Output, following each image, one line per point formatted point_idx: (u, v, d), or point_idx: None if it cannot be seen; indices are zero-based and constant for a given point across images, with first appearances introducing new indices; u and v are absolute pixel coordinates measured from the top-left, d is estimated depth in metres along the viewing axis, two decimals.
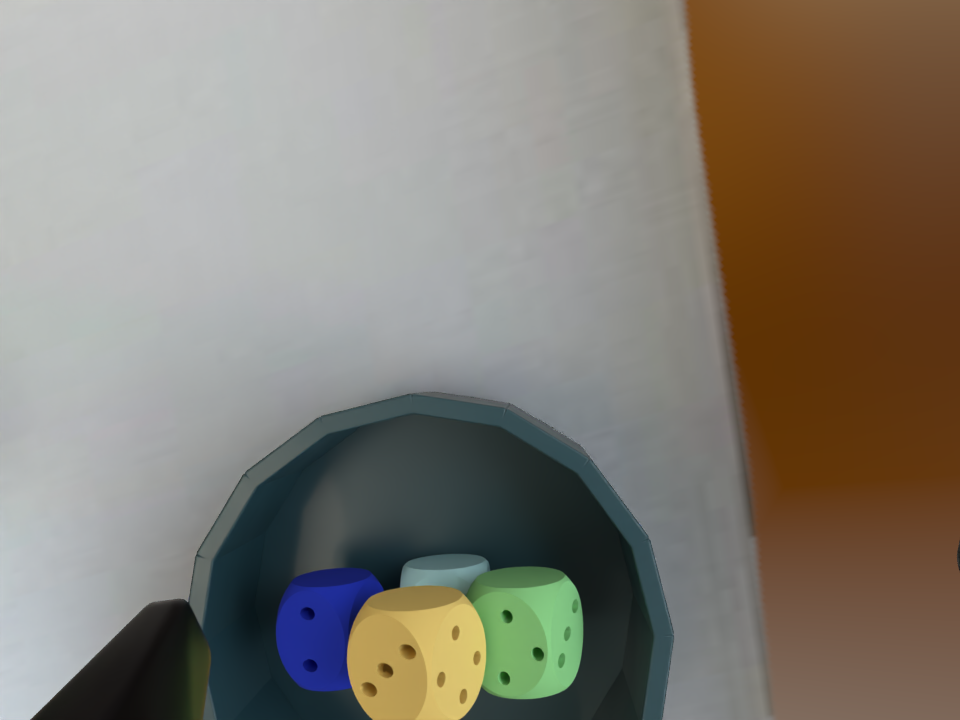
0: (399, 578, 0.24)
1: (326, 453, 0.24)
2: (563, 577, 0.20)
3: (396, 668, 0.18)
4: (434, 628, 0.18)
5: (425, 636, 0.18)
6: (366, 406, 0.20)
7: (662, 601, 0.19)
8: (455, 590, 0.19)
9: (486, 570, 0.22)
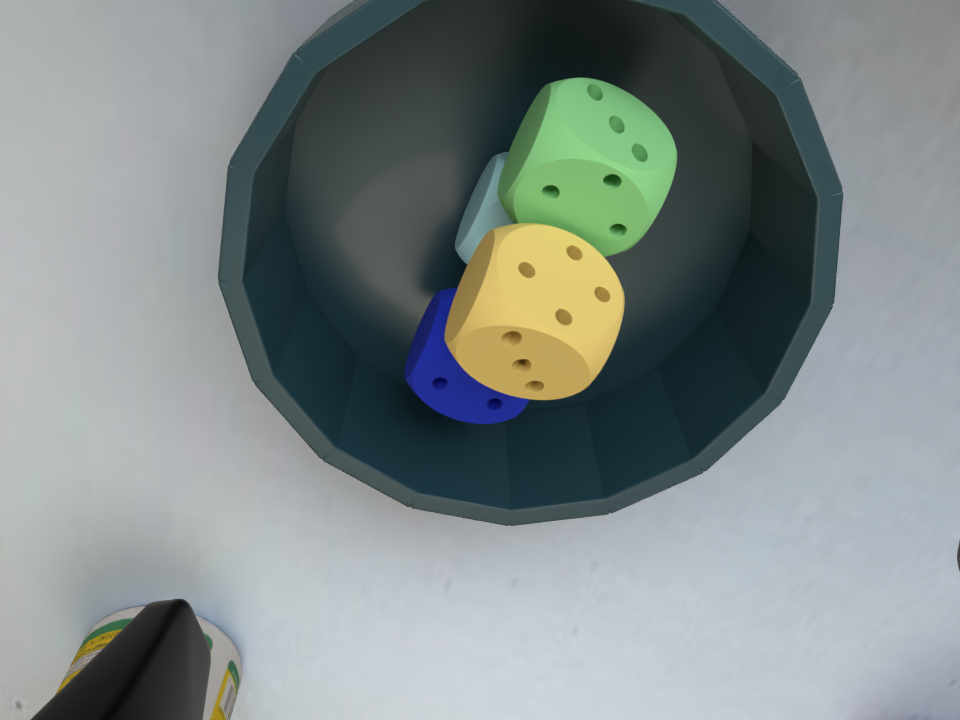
0: None
1: (299, 262, 0.20)
2: (550, 90, 0.14)
3: (524, 355, 0.14)
4: (503, 296, 0.14)
5: (505, 312, 0.14)
6: (224, 223, 0.15)
7: None
8: (489, 233, 0.15)
9: None
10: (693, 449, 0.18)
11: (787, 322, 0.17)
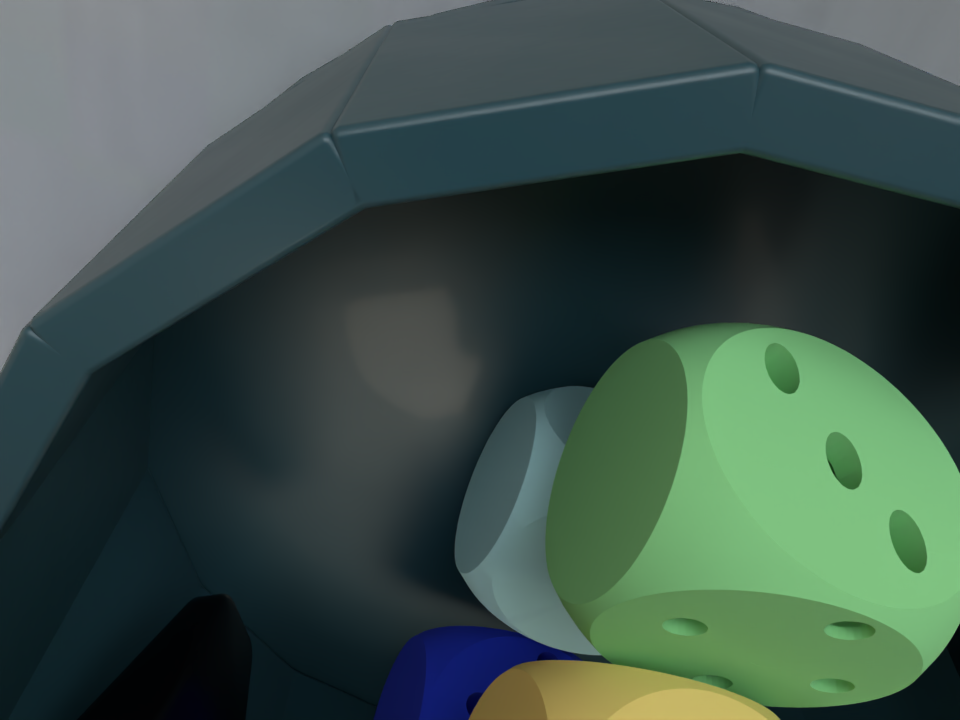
0: None
1: (183, 542, 0.11)
2: (685, 382, 0.06)
3: None
4: None
5: None
6: None
7: None
8: (532, 691, 0.06)
9: (557, 437, 0.09)
10: None
11: None
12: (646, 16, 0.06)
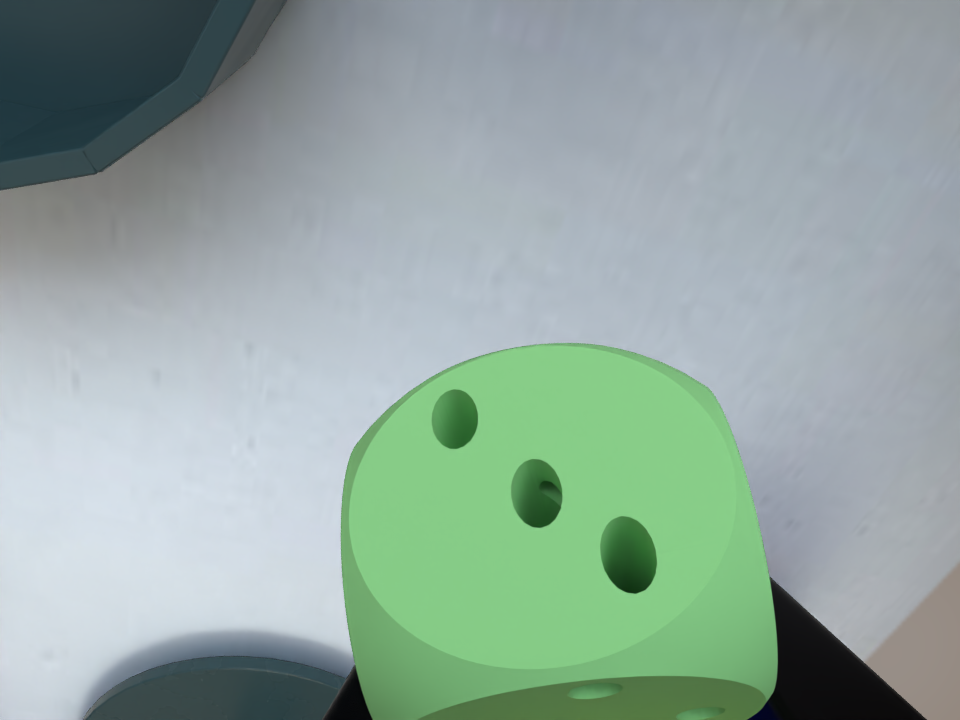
0: None
1: None
2: (343, 499, 0.05)
3: None
4: None
5: None
6: None
7: None
8: None
9: None
10: None
11: None
12: None
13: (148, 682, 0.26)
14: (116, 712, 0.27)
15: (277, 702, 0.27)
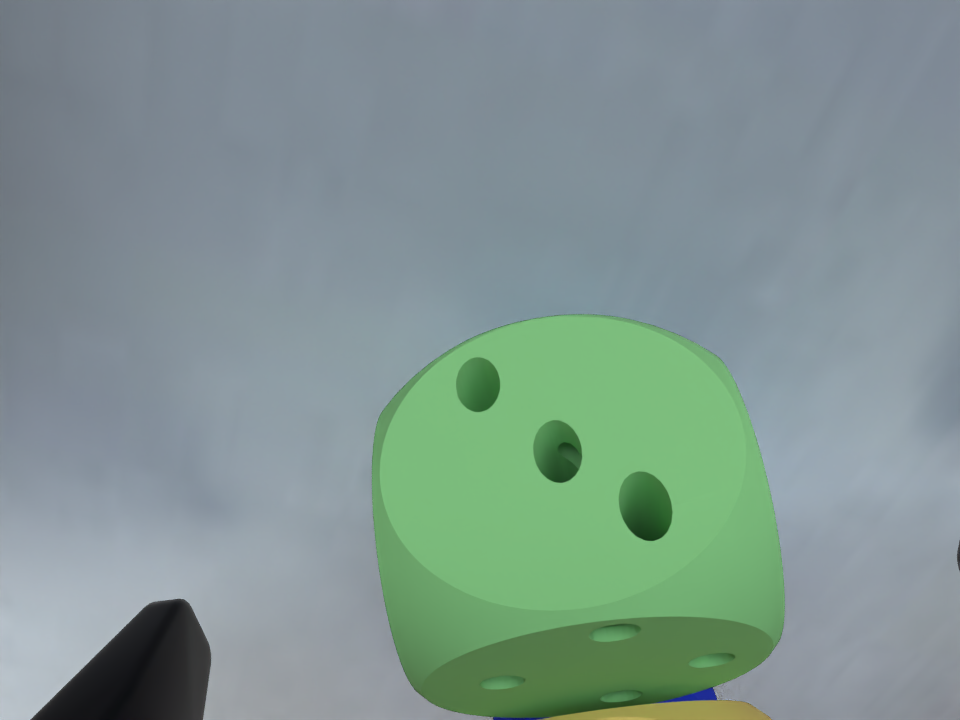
0: None
1: None
2: (373, 460, 0.06)
3: None
4: None
5: None
6: None
7: None
8: None
9: None
10: None
11: None
12: None
13: None
14: None
15: None
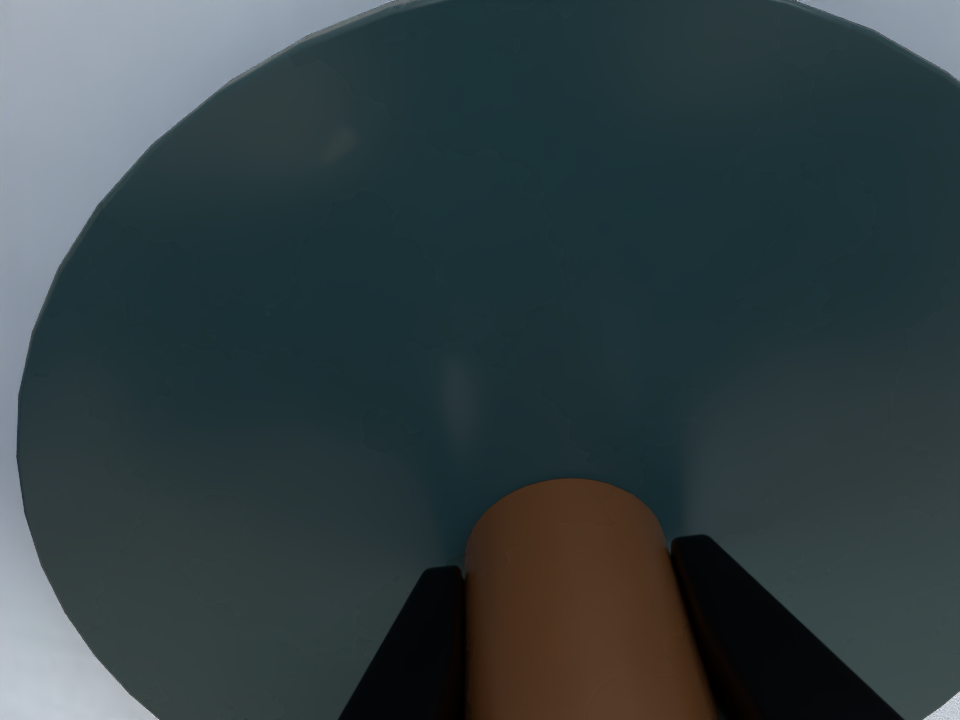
0: None
1: None
2: None
3: None
4: None
5: None
6: None
7: None
8: None
9: None
10: None
11: None
12: None
13: (308, 58, 0.07)
14: (177, 214, 0.07)
15: (759, 185, 0.07)
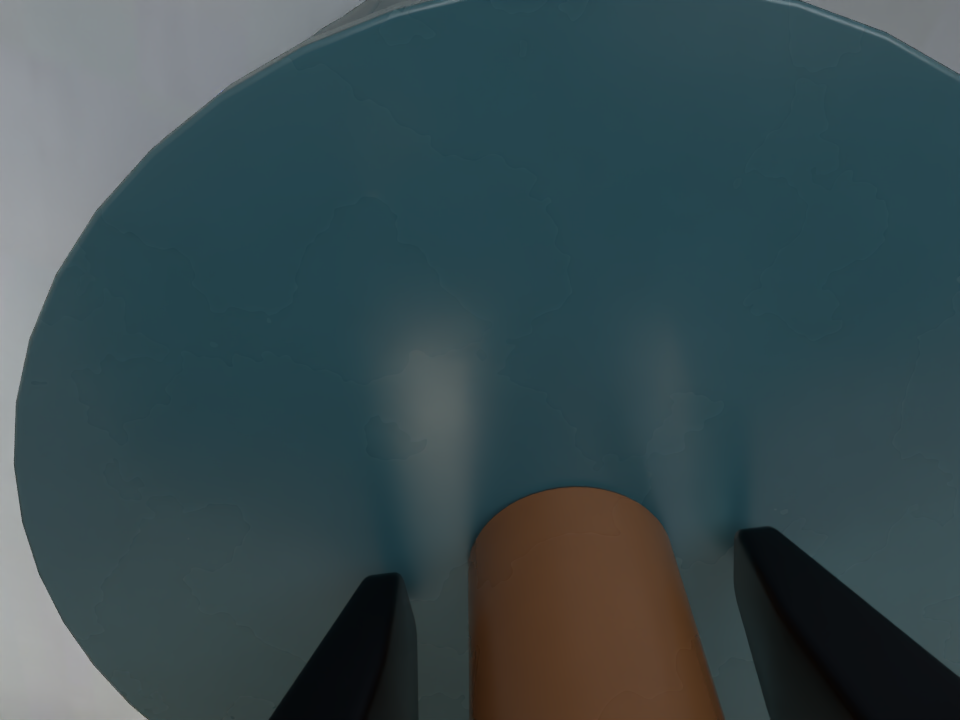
0: None
1: None
2: None
3: None
4: None
5: None
6: None
7: None
8: None
9: None
10: None
11: None
12: None
13: (310, 62, 0.07)
14: (177, 220, 0.07)
15: (768, 191, 0.07)
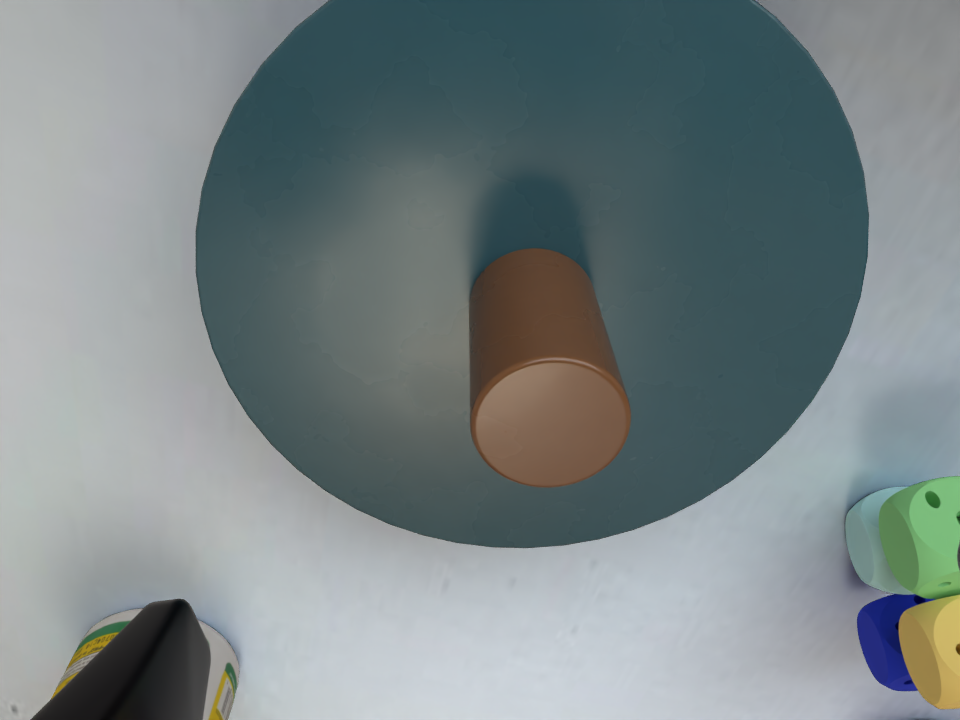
0: None
1: None
2: (905, 521, 0.20)
3: None
4: None
5: None
6: None
7: None
8: (912, 618, 0.21)
9: (874, 526, 0.23)
10: None
11: None
12: None
13: None
14: (307, 70, 0.13)
15: (636, 53, 0.13)
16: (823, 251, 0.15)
